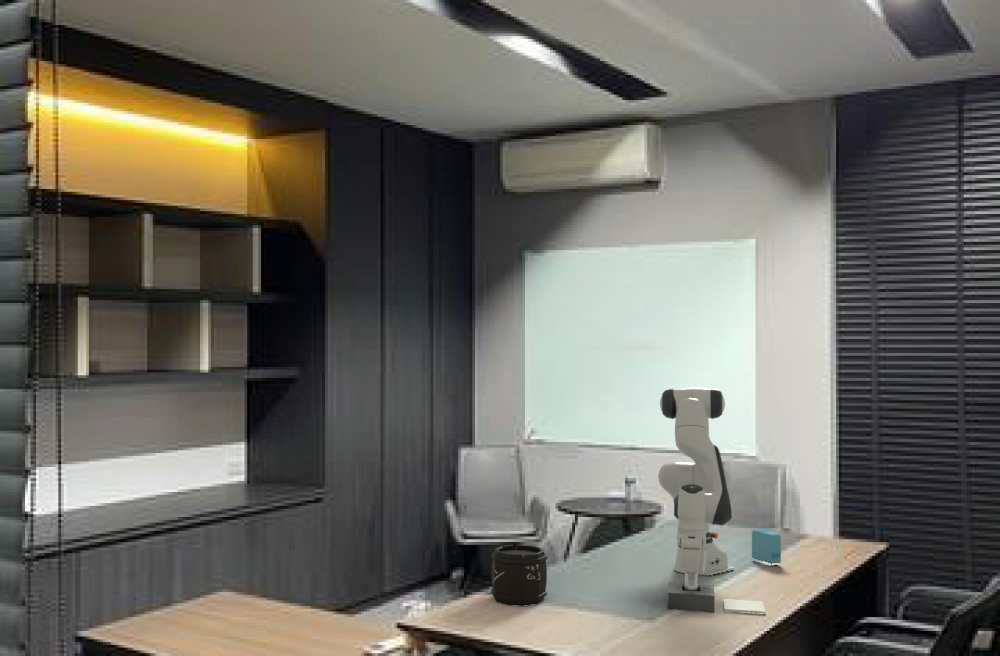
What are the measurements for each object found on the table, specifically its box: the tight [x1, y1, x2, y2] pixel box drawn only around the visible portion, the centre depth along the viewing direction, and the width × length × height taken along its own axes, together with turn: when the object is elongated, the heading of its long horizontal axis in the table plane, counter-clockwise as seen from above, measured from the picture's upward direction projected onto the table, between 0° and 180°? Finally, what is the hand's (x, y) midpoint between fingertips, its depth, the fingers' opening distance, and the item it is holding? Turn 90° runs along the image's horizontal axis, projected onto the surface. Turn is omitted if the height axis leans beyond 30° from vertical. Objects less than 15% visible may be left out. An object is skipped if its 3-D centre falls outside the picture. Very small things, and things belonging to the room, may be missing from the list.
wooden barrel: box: [490, 544, 548, 607], centre depth 295 cm, size 18×18×16 cm
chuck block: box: [667, 581, 716, 613], centre depth 291 cm, size 14×14×5 cm
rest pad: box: [723, 598, 766, 614], centre depth 288 cm, size 12×12×1 cm
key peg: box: [684, 572, 699, 591], centre depth 292 cm, size 4×4×10 cm
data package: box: [751, 528, 782, 564], centre depth 352 cm, size 12×4×12 cm, turn 20°
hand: (691, 581), depth 291 cm, fingers open, 8 cm apart
